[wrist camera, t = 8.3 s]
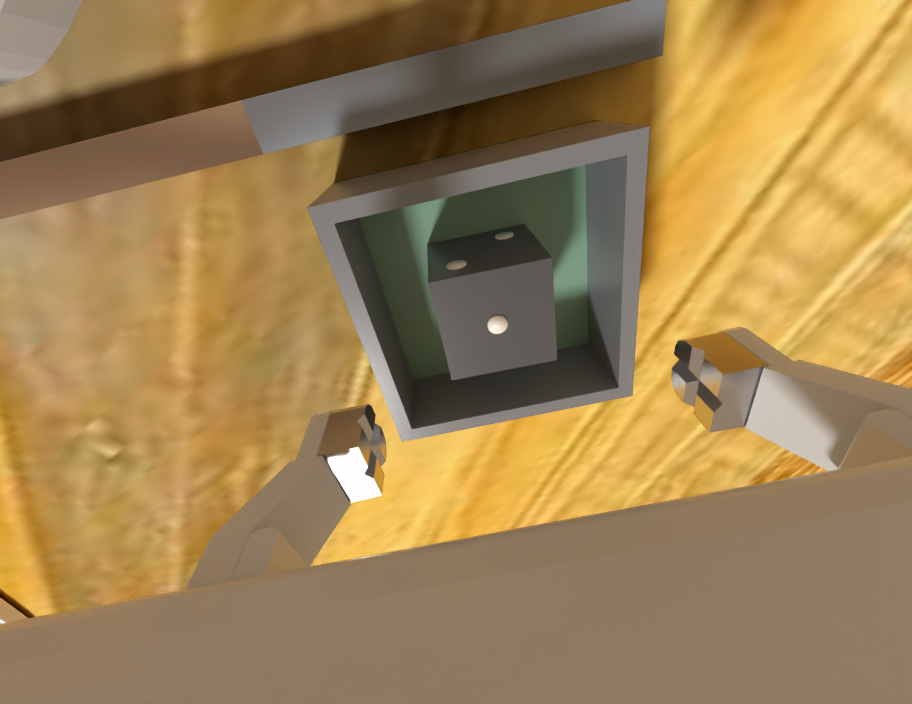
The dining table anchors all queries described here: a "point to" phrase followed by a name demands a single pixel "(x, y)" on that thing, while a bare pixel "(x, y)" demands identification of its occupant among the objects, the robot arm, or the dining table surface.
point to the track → (336, 105)
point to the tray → (481, 210)
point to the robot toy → (31, 34)
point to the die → (493, 301)
